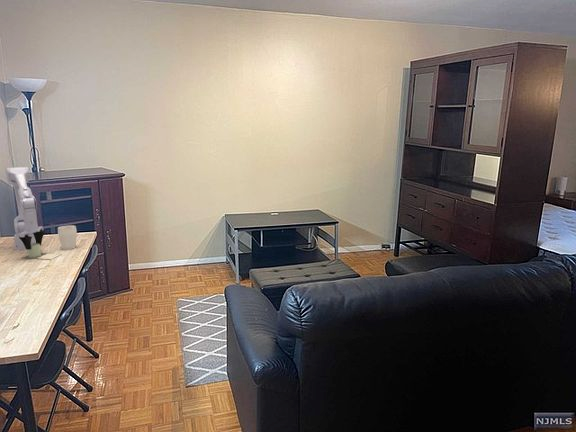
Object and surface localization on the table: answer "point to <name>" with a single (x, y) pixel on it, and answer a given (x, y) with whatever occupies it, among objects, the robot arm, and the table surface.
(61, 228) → the cup
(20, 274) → the table surface
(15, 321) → the table surface
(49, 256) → the mat
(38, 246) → the sage cup
